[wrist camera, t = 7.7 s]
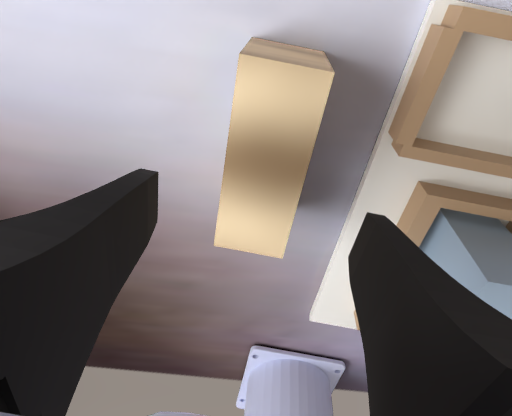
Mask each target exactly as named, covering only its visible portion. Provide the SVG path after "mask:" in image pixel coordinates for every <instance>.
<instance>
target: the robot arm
mask: <svg viewBox="0 0 512 416" xmlns="http://www.w3.org/2000/svg"><path fill="white" fill-rule="evenodd" d="M157 215H158V172H156V171H150V170H145V169H138V170H135V171H133V172H131V173H129V174H127V175H125V176H122V177H120V178H118V179H116V180H114V181H112V182H110V183H108V184H106V185H103V186H101V187H99V188H97V189H95V190H93V191H90V192H88V193H85V194H83V195H81V196H78V197H76V198H73V199H71V200H68V201H66V202H63V203H60V204H58V205H55V206H52V207H49V208H46V209H42V210H39V211H36V212H33V213H29V214H26V215H22V216H17V217H13V218H9V219H5V220H1V221H0V416H65V415H66V413H67V410H68V407H69V404H70V402H71V399H72V397H73V394H74V392H75V390H76V387H77V384H78V382H79V380H80V377H81V375H82V372H83V370H84V367H85V365H86V363H87V360H88V358H89V356H90V353H91V351H92V349H93V346H94V344H95V342H96V339H97V337H98V335H99V332H100V330H101V328H102V326H103V324H104V322H105V319H106V317H107V315H108V313H109V311H110V308H111V306H112V304H113V303H114V301H115V299H116V297H117V295H118V293H119V292H120V290H121V288H122V287H123V285H124V283H125V282H126V280H127V278H128V277H129V275H130V274H131V272H132V270H133V269H134V267H135V265H136V264H137V262H138V260H139V258H140V257H141V255H142V253H143V252H144V250H145V248H146V247H147V245H148V243H149V240H150V238H151V236H152V233H153V231H154V228H155V226H156V223H157ZM348 266H349V280H350V286H351V291H352V296H353V301H354V305H355V310H356V314H357V319H358V323H359V328H360V332H361V337H362V342H363V348H364V354H365V363H366V373H367V383H368V395H369V407H370V416H512V319H510V318H509V317H507V316H506V315H504V314H503V313H501V312H499V311H498V310H496V309H495V308H493V307H492V306H490V305H489V304H487V303H486V302H484V301H483V300H482V299H480V298H479V297H477V296H476V295H475V294H473V293H472V292H471V291H469V290H468V289H467V288H465V287H464V286H463V285H461V284H460V283H459V282H458V281H456V280H455V279H454V278H453V277H451V276H450V275H449V274H448V273H447V272H445V271H444V270H443V269H442V268H441V267H440V266H438V265H437V264H436V263H435V262H434V261H433V260H432V259H431V258H430V257H428V256H427V255H426V254H425V253H424V252H423V251H422V250H421V249H420V248H419V247H418V246H417V245H416V244H415V243H414V242H413V241H412V240H411V239H410V238H408V237H407V236H406V235H405V234H404V233H403V232H402V231H401V230H400V229H399V228H398V227H397V226H396V225H395V224H394V223H393V222H392V221H391V220H390V219H388V218H387V217H386V216H384V215H379V214H374V213H369V212H367V213H366V216H365V218H364V221H363V223H362V225H361V228H360V230H359V232H358V235H357V237H356V239H355V242H354V244H353V247H352V249H351V251H350V254H349V256H348ZM344 370H345V363H344V362H343V361H339V360H334V359H328V358H323V357H317V356H312V355H306V354H301V353H296V352H290V351H285V350H279V349H274V348H268V347H263V346H256V345H255V346H252V347H251V349H250V353H249V357H248V360H247V364H246V368H245V372H244V375H243V379H242V383H241V387H240V390H239V394H238V398H237V402H236V406H237V407H238V408H240V409H245V412H244V416H333V408H332V398H331V394H332V392H333V390H334V388H335V387H336V385H337V383H338V381H339V379H340V377H341V375H342V374H343V372H344ZM148 416H206V415H201V414H195V413H187V412H157V413H154V414H151V415H148Z"/></svg>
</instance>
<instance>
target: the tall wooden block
mask: <svg viewBox="0 0 512 416" xmlns="http://www.w3.org/2000/svg"><path fill="white" fill-rule="evenodd" d="M334 74H335V72H334V70H333V68H332V66H331V64H330V62H329V60H328V59H327V57H326V55H325V53H324V51H319V50H314V49H309V48H304V47H299V46H294V45H289V44H284V43H279V42H274V41H269V40H264V39H259V38H254V37H252V38H251V39H250V40H249V42H248V43H247V44H246V46H245V47H244V48H243V49H242V51H241V52H240V53H239V60H238V67H237V75H236V82H235V90H234V97H233V105H232V112H231V120H230V127H229V135H228V142H227V150H226V157H225V165H224V172H223V180H222V187H221V195H220V202H219V210H218V217H217V225H216V232H215V240H214V246H218V247H224V248H229V249H234V250H240V251H245V252H250V253H256V254H261V255H266V256H272V257H277V258H283V255H284V251H285V248H286V244H287V241H288V237H289V234H290V230H291V226H292V223H293V219H294V216H295V212H296V209H297V205H298V202H299V198H300V194H301V191H302V187H303V184H304V180H305V177H306V173H307V170H308V166H309V163H310V159H311V155H312V152H313V148H314V145H315V141H316V138H317V134H318V131H319V127H320V123H321V120H322V116H323V113H324V109H325V106H326V102H327V99H328V95H329V91H330V88H331V84H332V81H333V77H334Z"/></svg>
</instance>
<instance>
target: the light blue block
mask: <svg viewBox="0 0 512 416" xmlns="http://www.w3.org/2000/svg"><path fill="white" fill-rule="evenodd" d="M419 248H420V249H421V250H422V251H423V252H424V253H425V254H426V255H427V256H428V257H430V258H431V259H432V260H433V261H434V262H435V263H436V264H437V265H438V266H440V267H441V268H442V269H443V270H444V271H445V272H447V273H448V274H449V275H450V276H451V277H453V278H454V279H455V280H456V281H458V282H459V283H460V284H461V285H463V286H464V287H465V288H467V289H468V290H469V291H471V292H472V293H473V294H475V295H476V296H477V297H479V298H480V299H482V300H483V301H484V302H486V303H487V304H489V305H490V306H492V307H493V308H495V309H496V310H498V311H499V312H501V313H503V314H504V315H506V316H507V317H509V318H510V319H512V234H511V233H510V231H509V230H508V229H507V228H506V227H505V226H504V225H503V224H502V223H501V221H500V220H499V219H497V218H491V217H486V216H481V215H476V214H471V213H466V212H460V211H455V210H450V209H445V208H440V210H439V212H438V214H437V216H436V217H435V219H434V221H433V223H432V225H431V226H430V228H429V230H428V232H427V233H426V235H425V237H424V239H423V241H422V242H421V244H420V246H419Z"/></svg>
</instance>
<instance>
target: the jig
mask: <svg viewBox="0 0 512 416" xmlns="http://www.w3.org/2000/svg"><path fill="white" fill-rule="evenodd" d="M440 208H445V209H450V210H455V211H460V212H466V213H471V214H476V215H481V216H486V217H491V218H497V219H499V220H500V221H501V223H502V224H503V225H504V226H505V227H506V228H507V229H508V230H509V231H510V233H511V234H512V12H511V11H506V10H501V9H496V8H491V7H487V6H482V5H477V4H472V3H467V2H463V1H458V0H431V1H430V4H429V6H428V9H427V11H426V14H425V17H424V19H423V22H422V24H421V27H420V29H419V32H418V35H417V37H416V40H415V42H414V45H413V48H412V50H411V53H410V55H409V58H408V61H407V63H406V66H405V68H404V71H403V73H402V76H401V79H400V81H399V84H398V86H397V89H396V92H395V94H394V97H393V99H392V102H391V105H390V107H389V110H388V112H387V115H386V117H385V120H384V123H383V125H382V128H381V130H380V133H379V136H378V138H377V141H376V143H375V146H374V149H373V151H372V154H371V156H370V159H369V161H368V164H367V167H366V169H365V172H364V174H363V177H362V180H361V182H360V185H359V187H358V190H357V193H356V195H355V198H354V200H353V203H352V205H351V208H350V211H349V213H348V216H347V218H346V221H345V224H344V226H343V229H342V231H341V234H340V237H339V239H338V242H337V244H336V247H335V249H334V252H333V255H332V257H331V260H330V262H329V265H328V268H327V270H326V273H325V275H324V278H323V281H322V283H321V286H320V288H319V291H318V294H317V296H316V299H315V301H314V304H313V306H312V309H311V312H310V314H309V316H310V321H313V322H319V323H324V324H329V325H335V326H340V327H346V328H351V329H357V330H360V328H359V323H358V319H357V314H356V310H355V305H354V301H353V296H352V291H351V286H350V280H349V266H348V256H349V254H350V251H351V249H352V247H353V244H354V242H355V239H356V237H357V235H358V232H359V230H360V228H361V225H362V223H363V221H364V218H365V216H366V213H367V212H369V213H374V214H379V215H384V216H386V217H387V218H388V219H390V220H391V221H392V222H393V223H394V224H395V225H396V226H397V227H398V228H399V229H400V230H401V231H402V232H403V233H404V234H405V235H406V236H407V237H408V238H410V239H411V240H412V241H413V242H414V243H415V244H416V245H417V246H418V247H419V246H420V244H421V242H422V241H423V239H424V237H425V235H426V233H427V232H428V230H429V228H430V226H431V225H432V223H433V221H434V219H435V217H436V216H437V214H438V212H439V210H440Z"/></svg>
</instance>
